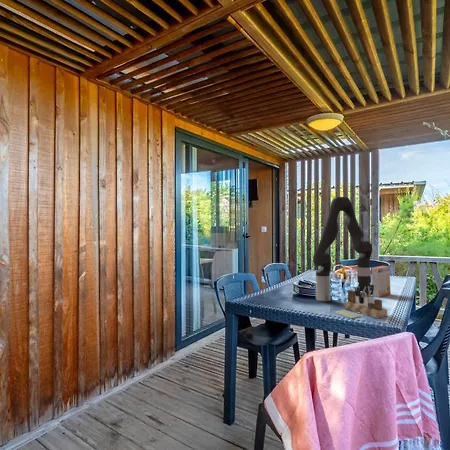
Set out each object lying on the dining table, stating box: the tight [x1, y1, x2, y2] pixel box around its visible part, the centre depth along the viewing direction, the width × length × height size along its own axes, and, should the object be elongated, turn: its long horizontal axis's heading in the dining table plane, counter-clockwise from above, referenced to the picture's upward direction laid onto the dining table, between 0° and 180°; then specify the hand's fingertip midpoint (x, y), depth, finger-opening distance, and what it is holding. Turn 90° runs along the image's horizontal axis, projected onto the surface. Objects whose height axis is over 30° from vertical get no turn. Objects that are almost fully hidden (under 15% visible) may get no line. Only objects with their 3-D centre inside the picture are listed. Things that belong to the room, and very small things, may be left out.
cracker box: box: [370, 265, 392, 298], centre depth 229 cm, size 14×6×21 cm, turn 121°
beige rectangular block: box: [356, 293, 375, 308], centre depth 188 cm, size 9×5×7 cm, turn 24°
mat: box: [333, 309, 364, 319], centre depth 184 cm, size 14×9×1 cm, turn 24°
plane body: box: [344, 289, 388, 319], centre depth 188 cm, size 24×8×11 cm, turn 24°
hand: (364, 302), depth 188 cm, fingers closed on beige rectangular block, 5 cm apart
